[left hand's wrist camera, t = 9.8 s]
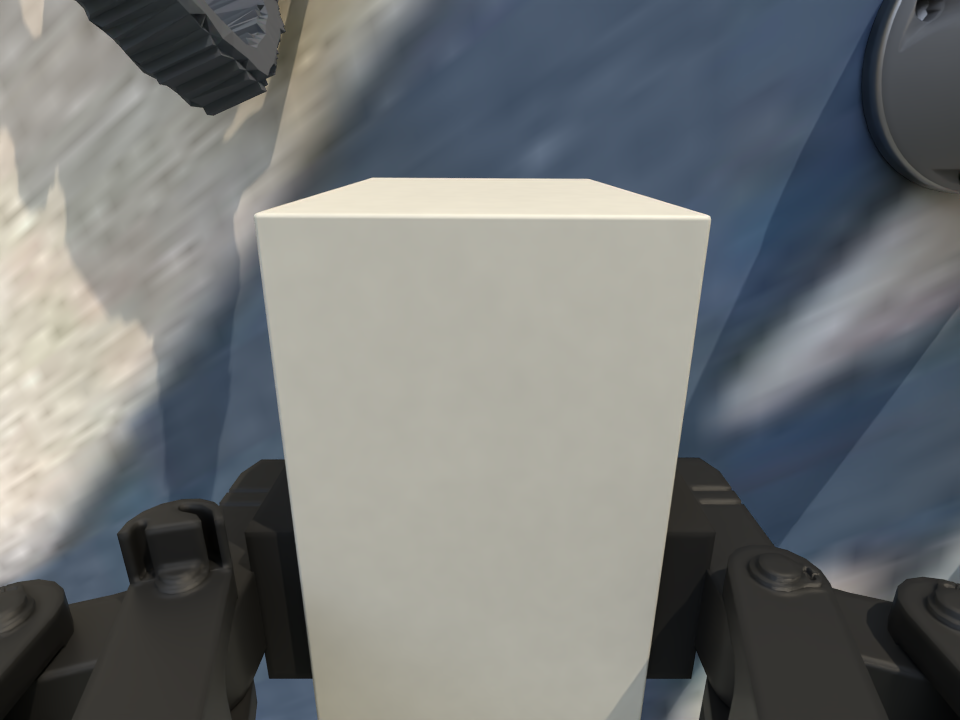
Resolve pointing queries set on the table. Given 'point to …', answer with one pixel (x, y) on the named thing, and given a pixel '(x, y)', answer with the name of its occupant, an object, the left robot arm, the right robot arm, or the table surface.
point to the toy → (197, 44)
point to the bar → (480, 437)
